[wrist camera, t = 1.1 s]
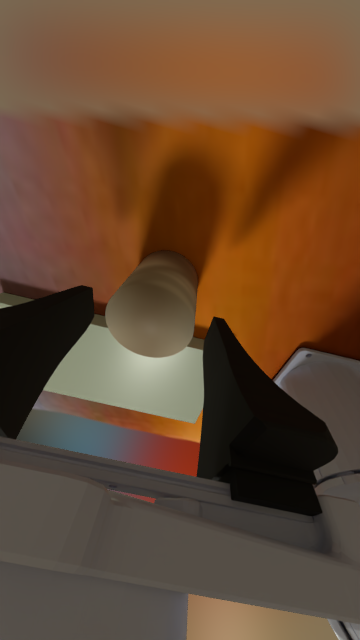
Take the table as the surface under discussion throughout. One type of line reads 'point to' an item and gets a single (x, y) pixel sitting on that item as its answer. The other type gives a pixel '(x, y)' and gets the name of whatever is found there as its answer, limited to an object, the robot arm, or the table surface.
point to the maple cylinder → (155, 306)
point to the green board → (128, 373)
